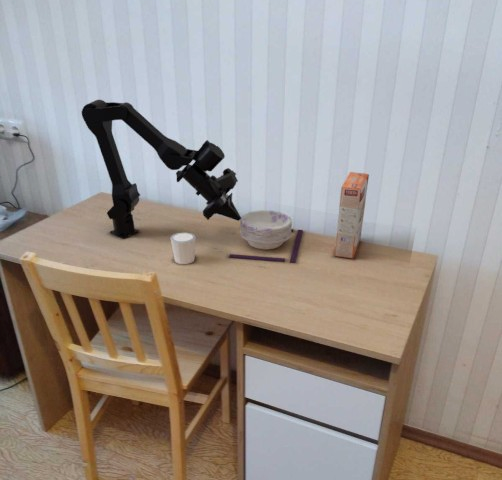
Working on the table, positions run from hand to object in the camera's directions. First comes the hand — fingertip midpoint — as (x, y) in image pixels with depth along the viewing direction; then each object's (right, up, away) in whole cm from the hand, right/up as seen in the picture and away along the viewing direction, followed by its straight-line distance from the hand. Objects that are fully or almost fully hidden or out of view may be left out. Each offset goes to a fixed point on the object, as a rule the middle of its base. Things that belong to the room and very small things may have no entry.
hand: (240, 219), depth 158 cm
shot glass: (-16, -13, -6) cm, 21 cm away
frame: (+8, -7, +2) cm, 11 cm away
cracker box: (+32, -9, 0) cm, 33 cm away
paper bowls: (+8, -7, +3) cm, 11 cm away
